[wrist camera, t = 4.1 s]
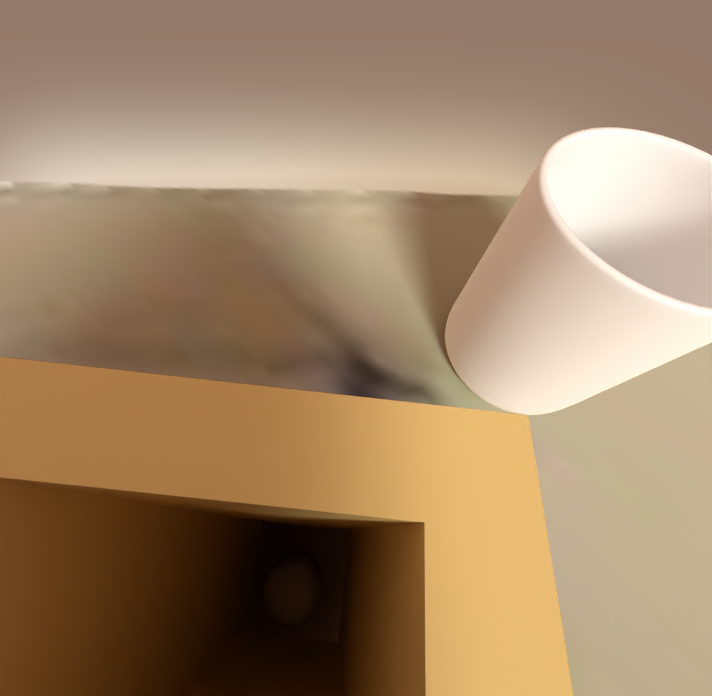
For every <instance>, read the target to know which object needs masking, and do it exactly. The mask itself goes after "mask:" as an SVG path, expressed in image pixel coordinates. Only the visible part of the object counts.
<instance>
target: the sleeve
mask: <svg viewBox="0 0 712 696" xmlns="http://www.w3.org/2000/svg"><path fill="white" fill-rule="evenodd" d="M263 522H272V523H281V524H291V525H300V526H310V527H319V528H328V529H338V530H347V531H348V542H347V553H346V565H345V576H344V587H343V598H342V609H341V620H340V631H339V642H335V641H325V640H315V639H305V638H295V637H285V636H275V635H265V634H255V633H245V632H241V627H242V622H243V617H244V612H245V607H246V602H247V597H248V592H249V587H250V583H251V578H252V573H253V568H254V563H255V558H256V553H257V548H258V543H259V538H260V533H261V528H262V523H263ZM0 696H573V690H572V684H571V677H570V671H569V665H568V659H567V653H566V647H565V640H564V634H563V628H562V622H561V616H560V610H559V603H558V597H557V591H556V585H555V579H554V573H553V566H552V560H551V554H550V548H549V542H548V536H547V529H546V523H545V517H544V511H543V505H542V499H541V492H540V486H539V480H538V474H537V468H536V462H535V455H534V449H533V443H532V437H531V431H530V425H529V418H528V415H520V414H511V413H502V412H493V411H484V410H475V409H466V408H457V407H448V406H439V405H430V404H421V403H412V402H403V401H394V400H385V399H376V398H367V397H358V396H349V395H340V394H331V393H322V392H313V391H304V390H295V389H286V388H277V387H268V386H259V385H250V384H241V383H232V382H223V381H214V380H205V379H196V378H187V377H178V376H169V375H160V374H151V373H142V372H133V371H124V370H115V369H106V368H97V367H88V366H79V365H70V364H61V363H52V362H43V361H34V360H25V359H16V358H7V357H0Z"/></svg>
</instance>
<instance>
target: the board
mask: <svg viewBox="0 0 712 696" xmlns="http://www.w3.org/2000/svg"><path fill="white" fill-rule="evenodd" d="M347 542H348V531H347V530H338V529H328V528H319V527H310V526H300V525H291V524H281V523H272V522H263V523H262V528H261V533H260V538H259V543H258V548H257V553H256V558H255V563H254V568H253V573H252V578H251V583H250V587H249V592H248V597H247V602H246V607H245V612H244V617H243V622H242V627H241V632H245V633H255V634H265V635H275V636H285V637H295V638H305V639H315V640H325V641H335V642H339V631H340V620H341V609H342V598H343V587H344V576H345V565H346V553H347Z"/></svg>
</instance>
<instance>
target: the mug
mask: <svg viewBox="0 0 712 696" xmlns="http://www.w3.org/2000/svg"><path fill="white" fill-rule="evenodd" d="M711 342H712V156H711V155H710V154H708V153H706V152H704V151H701V150H699V149H697V148H695V147H693V146H690V145H688V144H685V143H683V142H680V141H677V140H675V139H671V138H668V137H665V136H662V135H658V134H654V133H650V132H646V131H641V130H635V129H627V128H616V127H602V128H591V129H585V130H580V131H577V132H574V133H571V134H569V135H567V136H565V137H563V138H561V139H560V140H558V141H557V142H556V143H554V144H553V145H552V146H551V147H550V148H549V149H548V150H547V151H546V152H545V154H544V155H543V157H542V159H541V160H540V162H539V164H538V165H537V167H536V169H535V170H534V172H533V174H532V175H531V177H530V179H529V180H528V182H527V184H526V185H525V187H524V189H523V190H522V192H521V193H520V195H519V197H518V198H517V200H516V202H515V203H514V205H513V207H512V208H511V210H510V212H509V213H508V215H507V217H506V218H505V220H504V222H503V223H502V225H501V227H500V228H499V230H498V232H497V233H496V235H495V237H494V238H493V240H492V242H491V243H490V245H489V247H488V248H487V250H486V252H485V253H484V255H483V257H482V258H481V260H480V261H479V263H478V265H477V266H476V268H475V270H474V271H473V273H472V275H471V276H470V278H469V280H468V281H467V283H466V285H465V286H464V288H463V290H462V291H461V293H460V295H459V296H458V298H457V300H456V302H455V303H454V305H453V307H452V309H451V311H450V314H449V316H448V319H447V323H446V328H445V344H446V349H447V353H448V356H449V359H450V362H451V364H452V366H453V368H454V370H455V371H456V373H457V374H458V376H459V377H460V379H461V380H462V381H463V382H464V383H465V384H466V386H467V387H468V388H469V389H470V390H472V391H473V392H474V393H475V394H476V395H477V396H479V397H480V398H482V399H483V400H485V401H486V402H488V403H490V404H492V405H494V406H496V407H498V408H501V409H503V410H506V411H510V412H513V413H518V414H524V415H538V414H546V413H550V412H554V411H558V410H561V409H564V408H566V407H568V406H571V405H573V404H576V403H578V402H580V401H582V400H585V399H587V398H589V397H591V396H593V395H596V394H598V393H600V392H602V391H605V390H607V389H609V388H611V387H613V386H616V385H618V384H620V383H622V382H624V381H627V380H629V379H631V378H633V377H636V376H638V375H640V374H642V373H644V372H647V371H649V370H651V369H653V368H655V367H658V366H660V365H662V364H664V363H667V362H669V361H671V360H673V359H675V358H678V357H680V356H682V355H684V354H687V353H689V352H691V351H693V350H695V349H698V348H700V347H702V346H704V345H706V344H709V343H711Z"/></svg>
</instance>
